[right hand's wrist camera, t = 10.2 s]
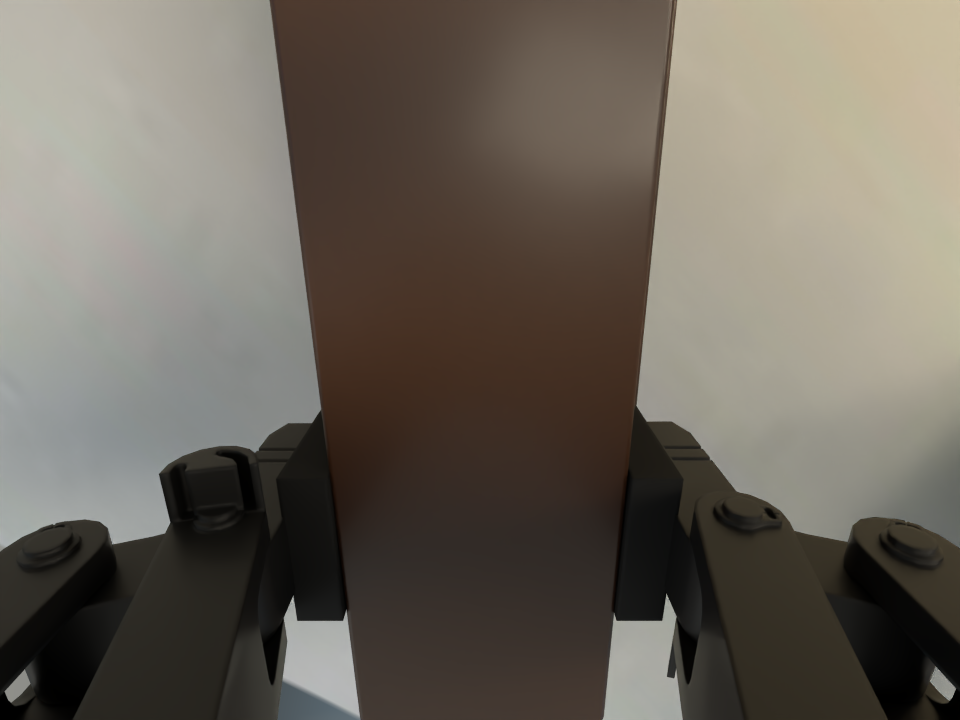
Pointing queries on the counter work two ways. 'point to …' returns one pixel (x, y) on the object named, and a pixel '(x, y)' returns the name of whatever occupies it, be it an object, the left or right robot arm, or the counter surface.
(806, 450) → the counter surface
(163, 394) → the counter surface
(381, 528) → the rail
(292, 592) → the right robot arm
